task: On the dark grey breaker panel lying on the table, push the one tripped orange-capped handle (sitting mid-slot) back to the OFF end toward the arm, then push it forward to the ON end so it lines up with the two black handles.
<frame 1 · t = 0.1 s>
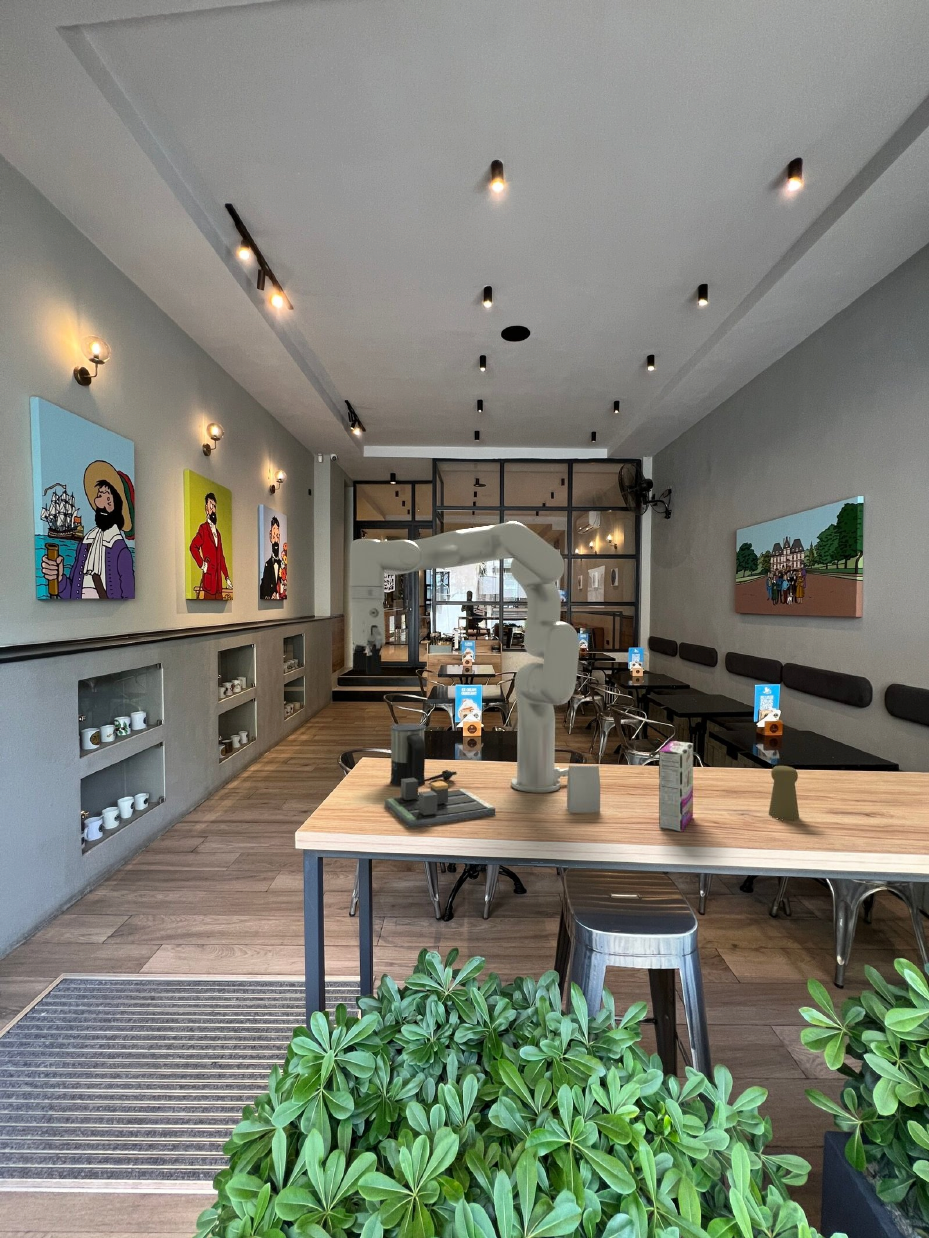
hand: (366, 671, 135), 31 cm above the table, tool pointing down, fingers open, 9 cm apart
panel: (439, 810, 136), on the table
breaker near: (427, 802, 128), point 4 cm above the table, slide at 5.0 cm
breaker tripped: (439, 792, 136), point 4 cm above the table, slide at 0.0 cm
candy bar box: (675, 823, 129), on the table
milk frother: (423, 783, 158), on the table
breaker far: (409, 788, 138), point 4 cm above the table, slide at 5.0 cm
grey boxy piece: (583, 810, 137), on the table
cork: (783, 817, 134), on the table
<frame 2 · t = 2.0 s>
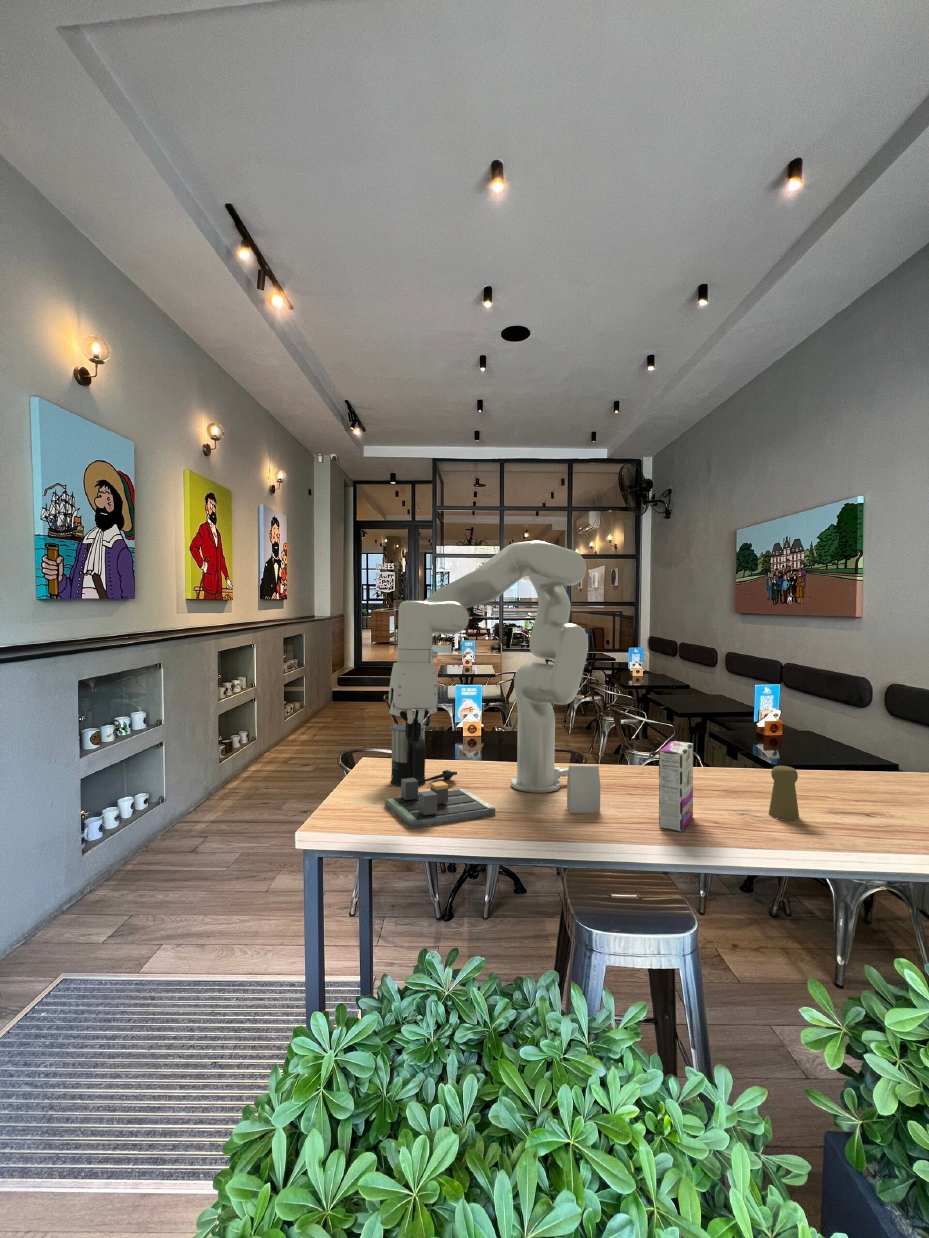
hand: (412, 740, 132), 16 cm above the table, tool pointing down, fingers closed
nothing on the table moved.
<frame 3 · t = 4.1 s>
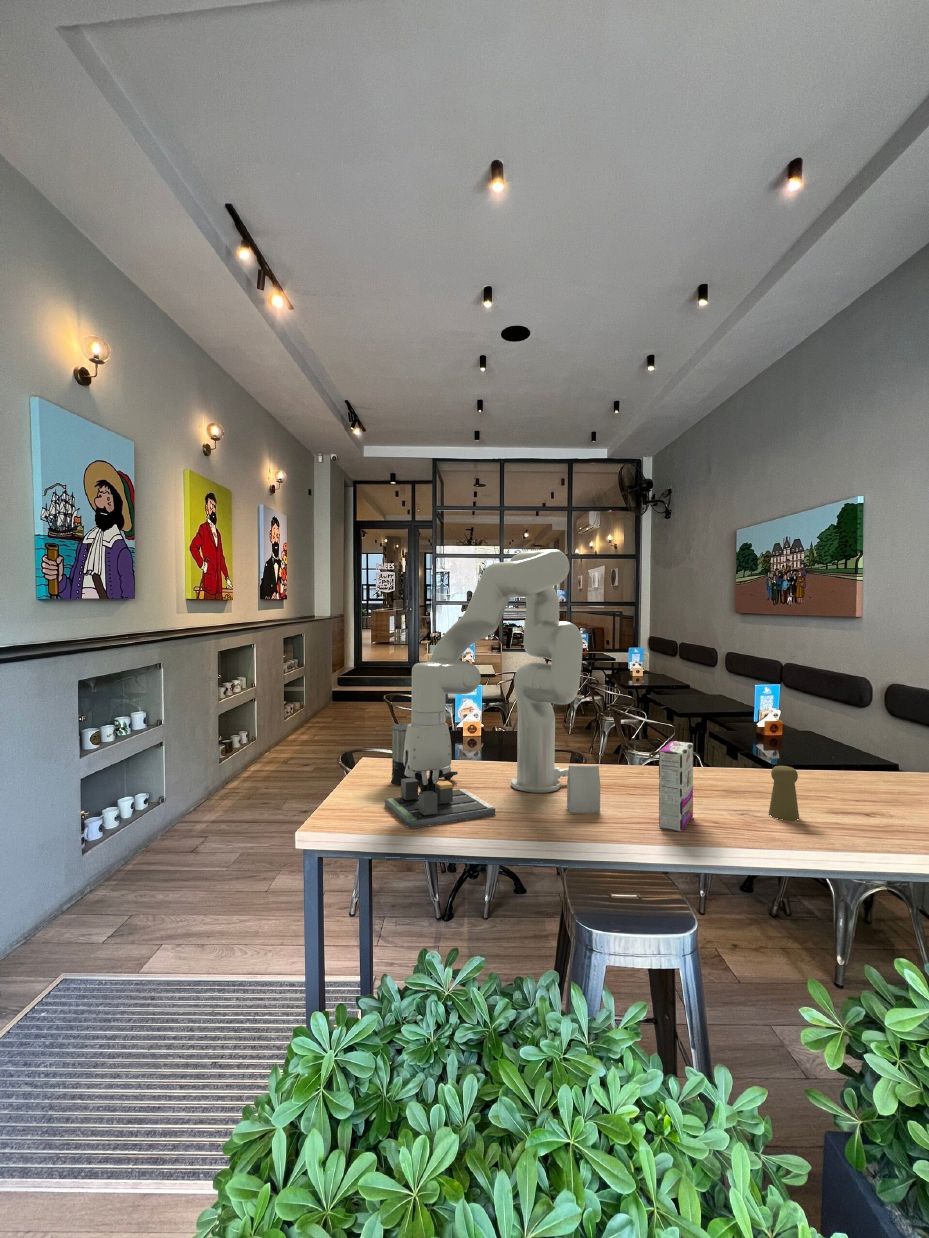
hand: (427, 800, 134), 3 cm above the table, tool pointing down, fingers closed
breaker tripped: (443, 792, 136), point 4 cm above the table, slide at -1.1 cm, touching gripper
everything else where it was.
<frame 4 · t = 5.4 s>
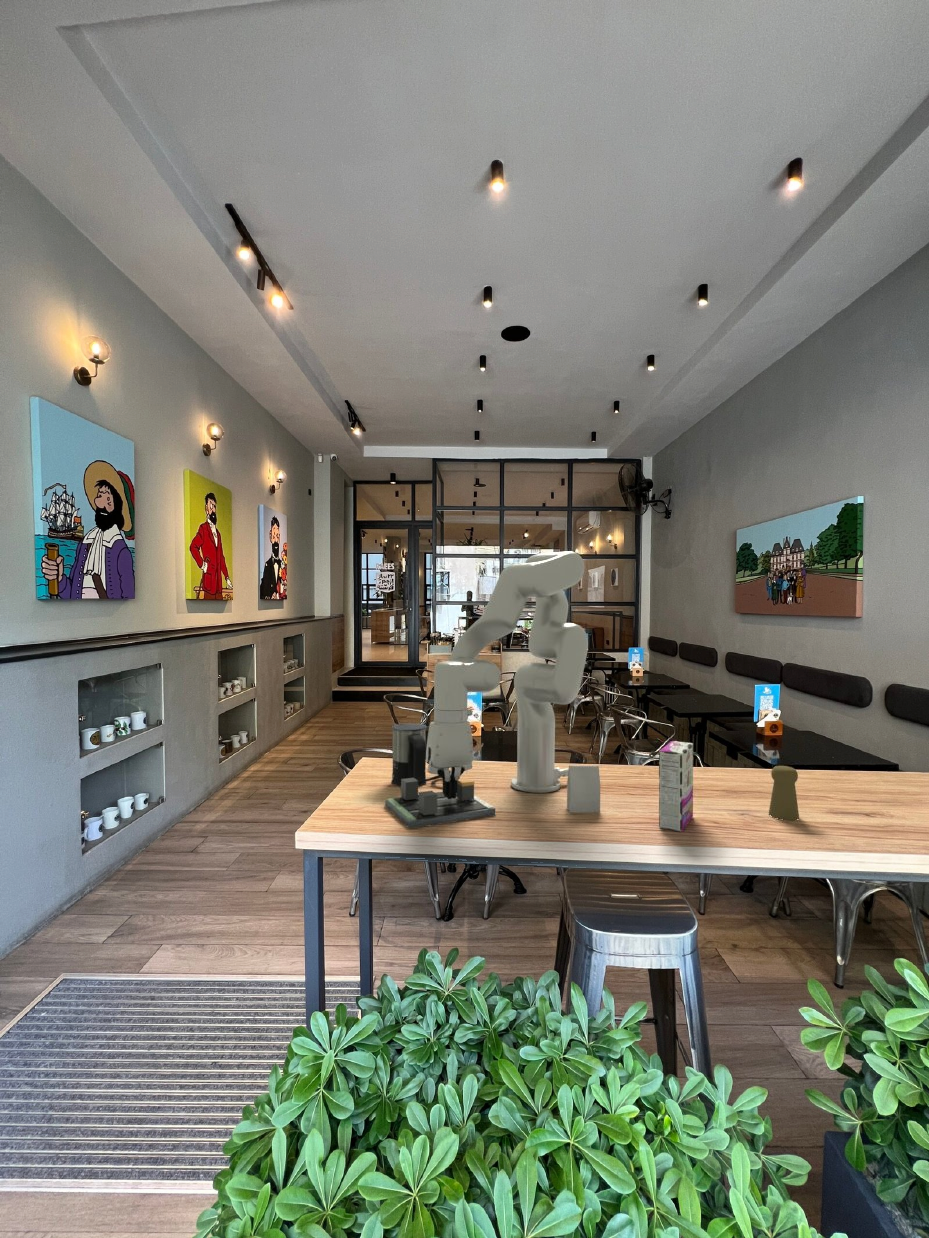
hand: (449, 796, 137), 3 cm above the table, tool pointing down, fingers closed
breaker tripped: (465, 789, 138), point 4 cm above the table, slide at -6.5 cm, touching gripper
everything else where it was.
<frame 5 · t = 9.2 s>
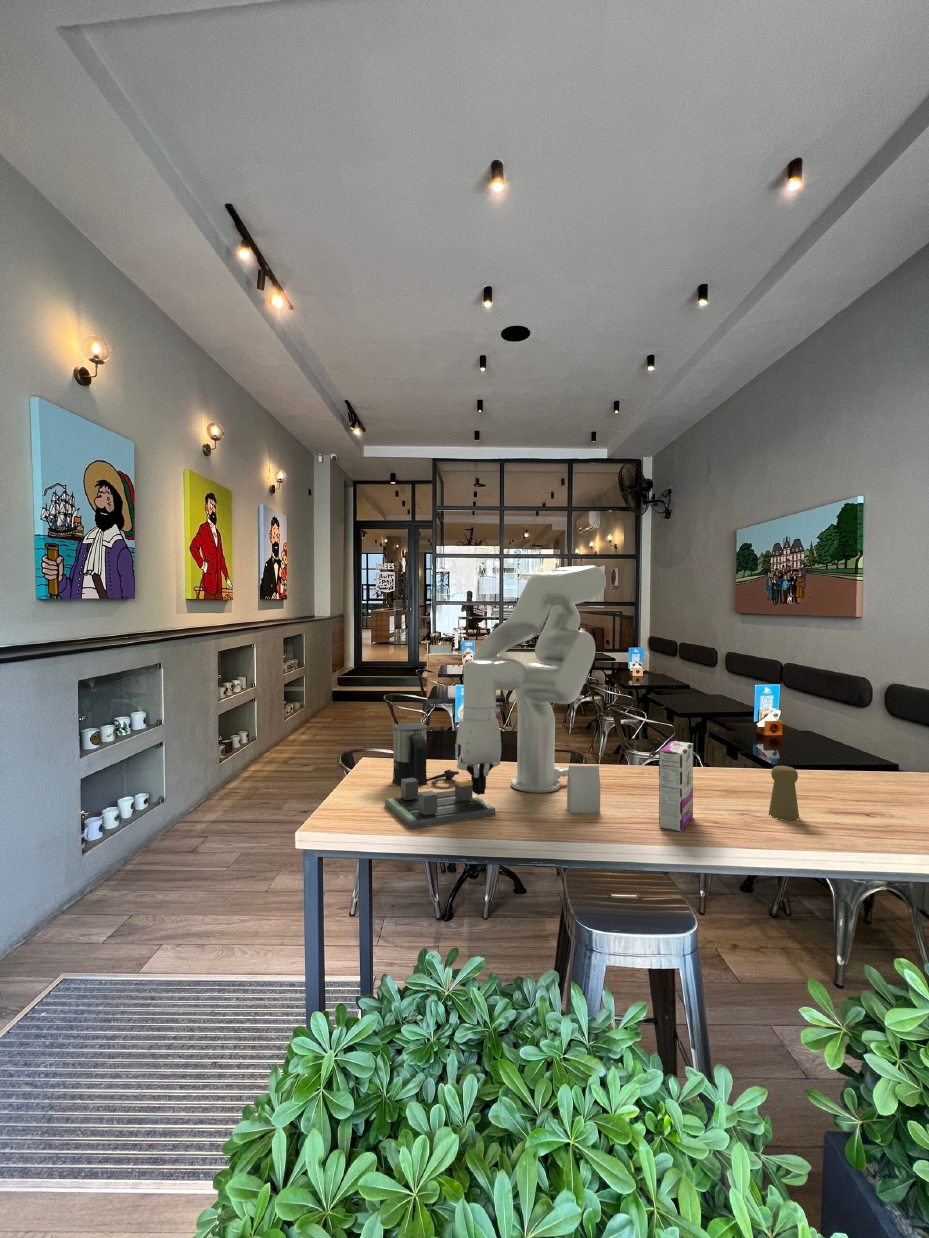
hand: (478, 792, 140), 3 cm above the table, tool pointing down, fingers closed
breaker tripped: (463, 789, 138), point 4 cm above the table, slide at -6.1 cm, touching gripper
everything else where it was.
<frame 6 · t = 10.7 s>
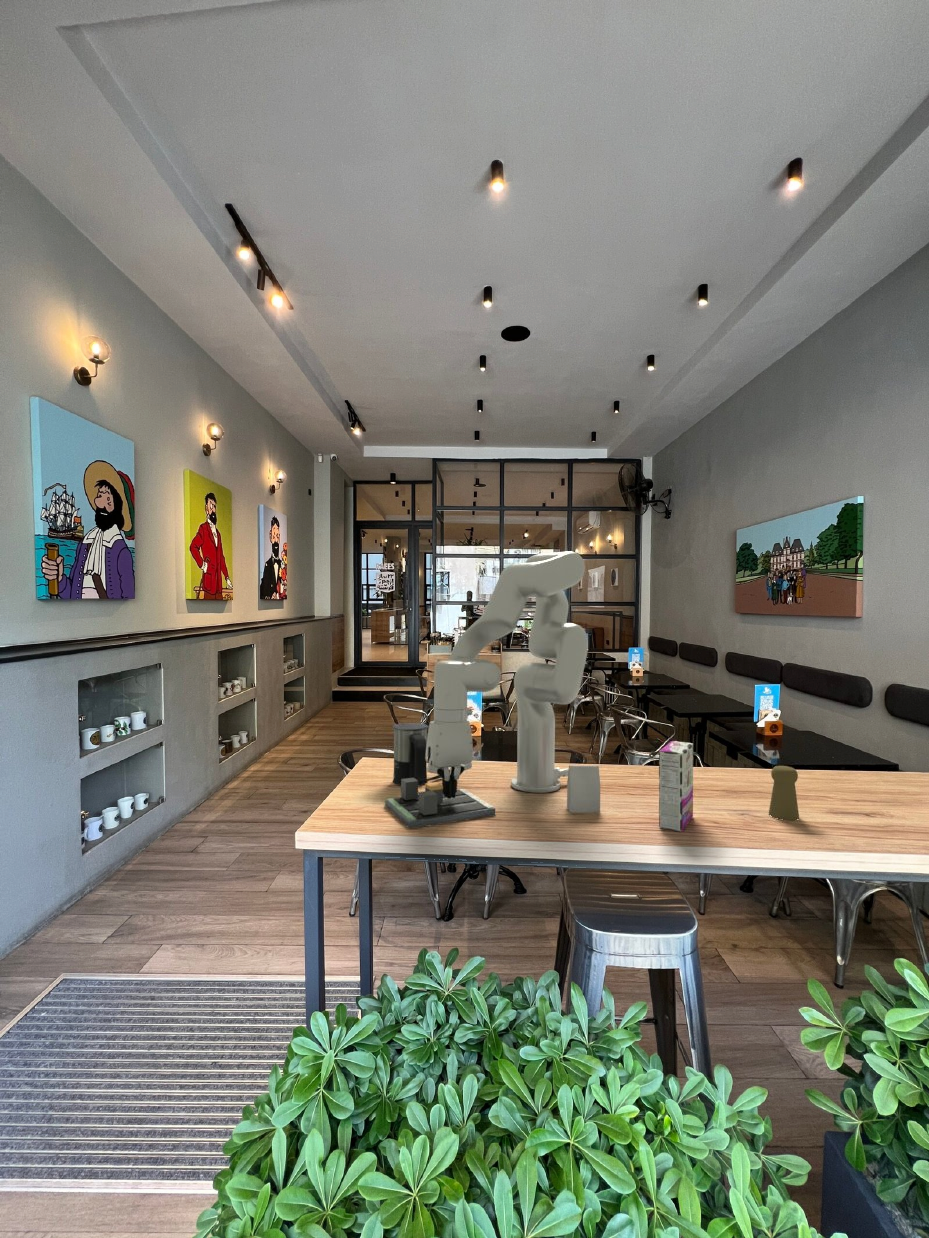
hand: (449, 796, 137), 3 cm above the table, tool pointing down, fingers closed
breaker tripped: (433, 793, 135), point 4 cm above the table, slide at 1.3 cm, touching gripper
everything else where it was.
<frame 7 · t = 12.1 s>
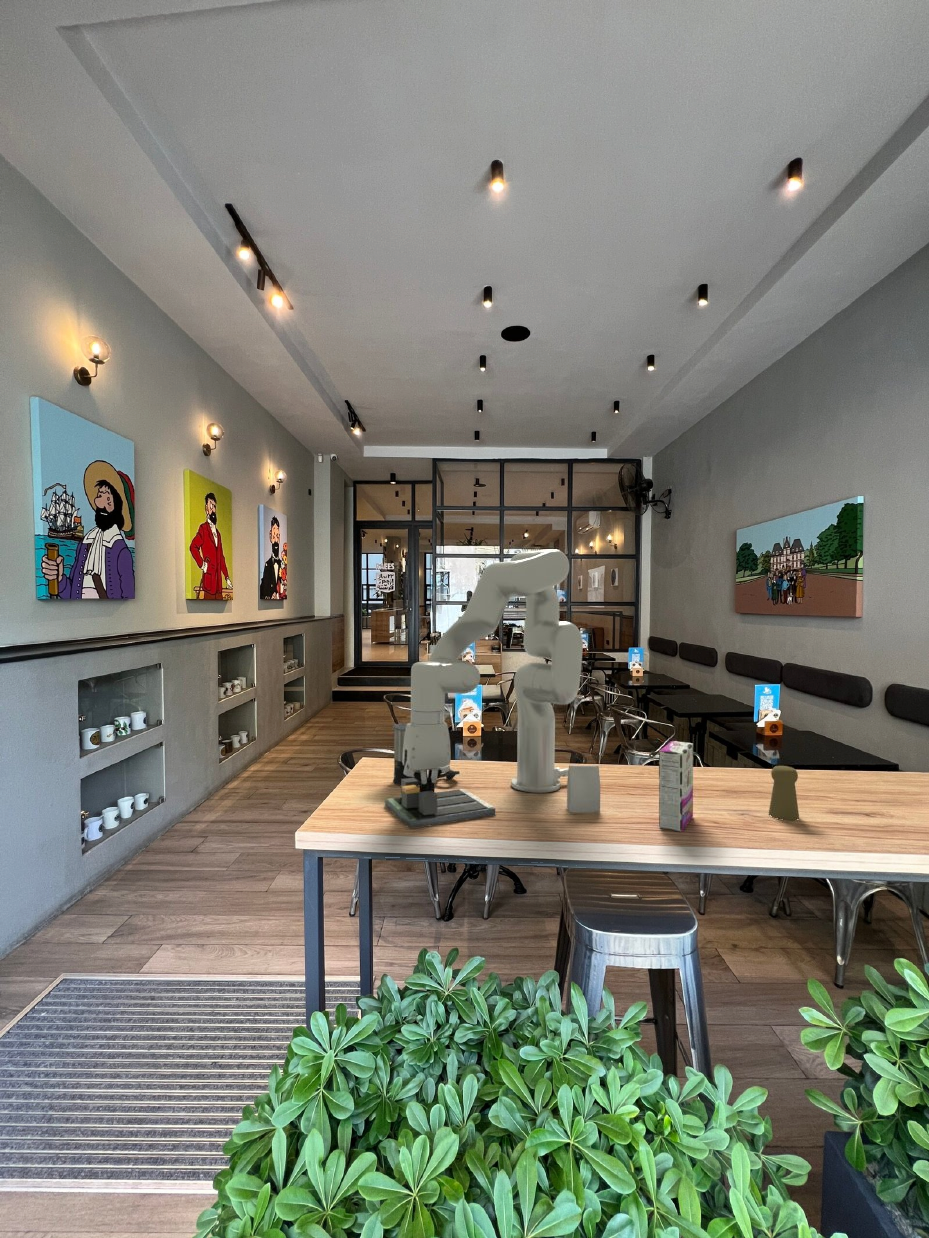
hand: (426, 799, 134), 3 cm above the table, tool pointing down, fingers closed
breaker tripped: (410, 796, 133), point 4 cm above the table, slide at 6.8 cm, touching gripper
everything else where it was.
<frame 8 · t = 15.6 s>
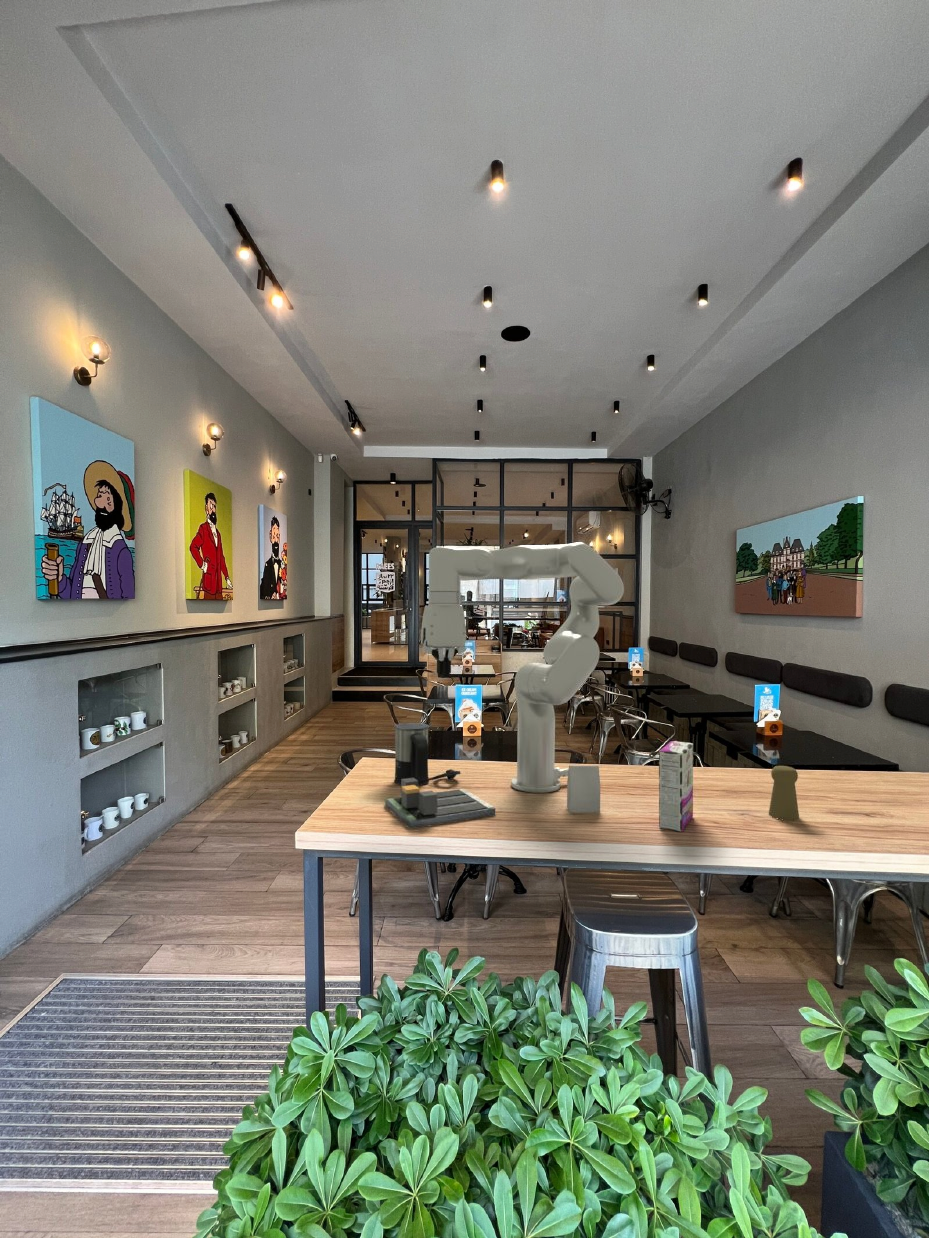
hand: (443, 677, 143), 29 cm above the table, tool pointing down, fingers closed
breaker tripped: (410, 796, 133), point 4 cm above the table, slide at 6.9 cm
at the end: breaker tripped slide at 6.9 cm; breaker near slide at 5.0 cm; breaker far slide at 5.0 cm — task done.
